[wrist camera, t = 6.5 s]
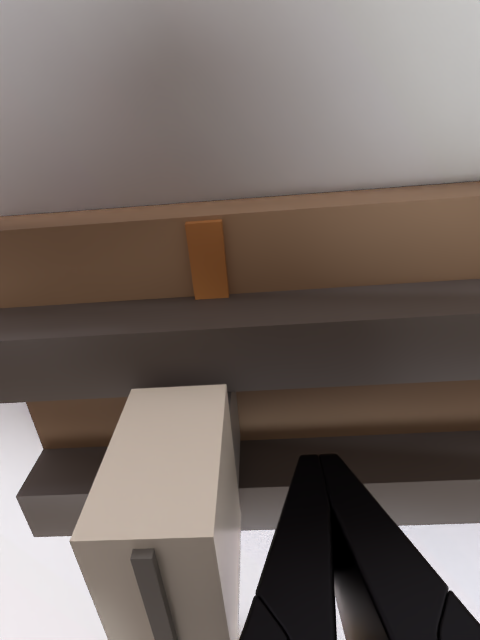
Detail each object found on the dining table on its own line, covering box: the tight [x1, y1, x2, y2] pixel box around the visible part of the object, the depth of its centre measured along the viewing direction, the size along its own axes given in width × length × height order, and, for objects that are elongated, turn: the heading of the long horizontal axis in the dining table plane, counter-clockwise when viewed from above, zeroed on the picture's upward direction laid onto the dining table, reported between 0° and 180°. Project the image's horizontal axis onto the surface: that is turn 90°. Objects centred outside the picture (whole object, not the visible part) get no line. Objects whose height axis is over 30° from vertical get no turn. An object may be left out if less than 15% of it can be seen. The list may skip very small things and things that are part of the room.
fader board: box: [0, 181, 480, 537], centre depth 11 cm, size 10×22×3 cm, turn 94°
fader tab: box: [70, 384, 241, 640], centre depth 9 cm, size 4×2×6 cm, turn 4°
